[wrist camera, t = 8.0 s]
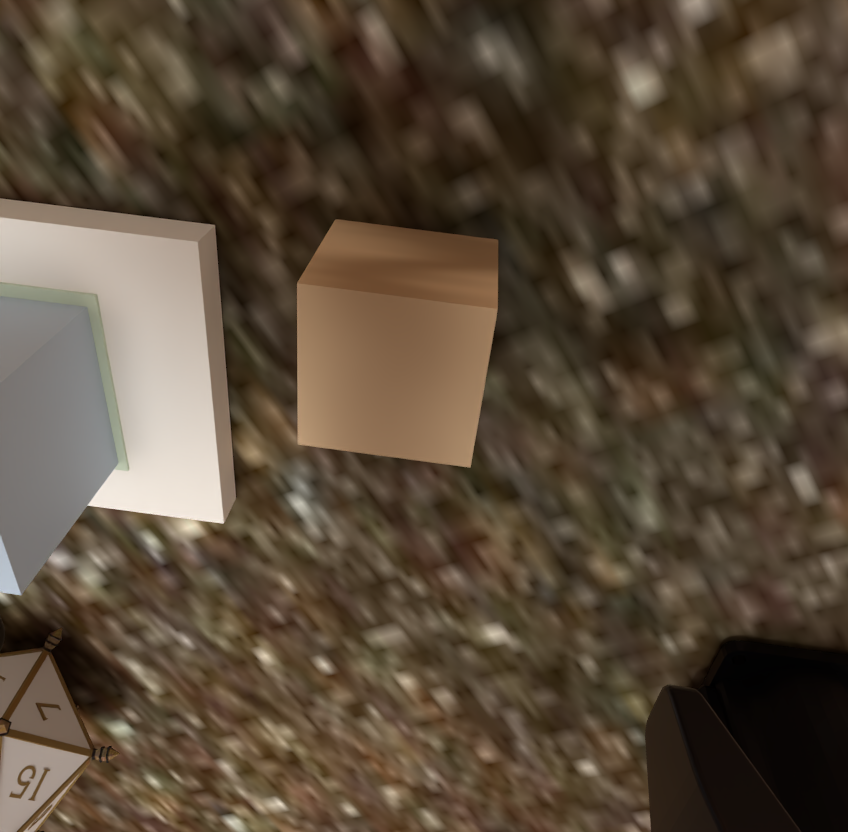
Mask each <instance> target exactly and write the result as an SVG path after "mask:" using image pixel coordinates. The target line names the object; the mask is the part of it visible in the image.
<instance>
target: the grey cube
mask: <svg viewBox="0 0 848 832" xmlns="http://www.w3.org/2000/svg"><path fill="white" fill-rule="evenodd" d="M117 465H118V458H117V453H116V448H115V443H114V438H113V433H112V428H111V423H110V418H109V413H108V408H107V403H106V398H105V393H104V388H103V383H102V378H101V373H100V368H99V363H98V358H97V353H96V348H95V343H94V338H93V333H92V328H91V323H90V318H89V313H88V308H87V307H85V306H76V305H68V304H60V303H52V302H44V301H36V300H28V299H20V298H12V297H4V296H0V592H2V593H9V594H16V595H22V594H23V592H24V591H25V589H26V588H27V587H28V585H29V584H30V583H31V581H32V580H33V579H34V577H35V576H36V575H37V573H38V572H39V570H40V569H41V568H42V566H43V565H44V564H45V562H46V561H47V560H48V558H49V557H50V556H51V554H52V553H53V551H54V550H55V549H56V547H57V546H58V545H59V543H60V542H61V541H62V539H63V538H64V537H65V535H66V534H67V532H68V531H69V530H70V528H71V527H72V526H73V524H74V523H75V522H76V520H77V519H78V518H79V516H80V515H81V513H82V512H83V511H84V509H85V508H86V507H87V505H88V504H89V503H90V501H91V500H92V499H93V497H94V496H95V494H96V493H97V492H98V490H99V489H100V488H101V486H102V485H103V484H104V482H105V481H106V480H107V478H108V477H109V475H110V474H111V473H112V471H113V470H114V469H115V467H116V466H117Z"/></svg>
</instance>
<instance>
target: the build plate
mask: <svg viewBox="0 0 848 832" xmlns="http://www.w3.org/2000/svg"><path fill="white" fill-rule="evenodd" d="M0 296H4V297H12V298H20V299H28V300H36V301H44V302H52V303H60V304H68V305H76V306H85V307H87V308H88V313H89V318H90V323H91V328H92V333H93V338H94V343H95V348H96V353H97V358H98V363H99V368H100V373H101V378H102V383H103V388H104V393H105V398H106V403H107V408H108V413H109V418H110V423H111V428H112V433H113V438H114V443H115V448H116V453H117V458H118V465H117V466H116V467H115V469H114V470H113V471H112V473H111V474H110V475H109V477H108V478H107V480H106V481H105V482H104V484H103V485H102V486H101V488H100V489H99V490H98V492H97V493H96V494H95V496H94V497H93V499H92V500H91V501H90V503H89V504H88V506H96V507H103V508H111V509H118V510H126V511H133V512H141V513H148V514H156V515H163V516H170V517H178V518H185V519H193V520H200V521H208V522H215V523H223V524H224V522H225V520H226V518H227V516H228V514H229V512H230V510H231V508H232V506H233V504H234V501H235V499H236V490H235V477H234V464H233V451H232V438H231V425H230V412H229V399H228V386H227V373H226V360H225V348H224V335H223V322H222V309H221V296H220V283H219V270H218V257H217V244H216V231H215V225H211V224H203V223H195V222H187V221H179V220H171V219H163V218H155V217H147V216H139V215H131V214H123V213H115V212H107V211H99V210H90V209H82V208H74V207H66V206H58V205H50V204H42V203H34V202H26V201H18V200H10V199H2V198H0Z"/></svg>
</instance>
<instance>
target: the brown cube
mask: <svg viewBox="0 0 848 832" xmlns="http://www.w3.org/2000/svg"><path fill="white" fill-rule="evenodd" d="M497 311H498V240H496V239H488V238H480V237H473V236H465V235H457V234H449V233H441V232H433V231H425V230H418V229H410V228H402V227H394V226H386V225H378V224H371V223H363V222H355V221H347V220H339V219H335V221H334V222H333V224H332V226H331V227H330V229H329V231H328V232H327V234H326V236H325V237H324V239H323V241H322V242H321V244H320V246H319V247H318V249H317V251H316V252H315V254H314V256H313V257H312V259H311V261H310V262H309V264H308V266H307V267H306V269H305V271H304V272H303V274H302V276H301V277H300V279H299V281H298V282H297V382H298V445H306V446H313V447H321V448H328V449H336V450H343V451H351V452H358V453H366V454H373V455H381V456H388V457H395V458H403V459H410V460H418V461H425V462H433V463H440V464H448V465H455V466H463V467H471V461H472V455H473V450H474V444H475V438H476V432H477V427H478V421H479V415H480V409H481V403H482V398H483V392H484V386H485V380H486V375H487V369H488V363H489V357H490V351H491V346H492V340H493V334H494V328H495V323H496V317H497Z"/></svg>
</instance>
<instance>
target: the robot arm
mask: <svg viewBox="0 0 848 832" xmlns="http://www.w3.org/2000/svg"><path fill="white" fill-rule="evenodd" d="M4 639H5V628H4V624H3V622H2V619H1V616H0V651H1V649H2V646H3V643H4ZM645 740H646V756H647V772H648V788H649V804H650V820H651V832H848V655H842V654H834V653H827V652H820V651H812V650H805V649H798V648H790V647H783V646H775V645H768V644H761V643H753V642H746V641H732V642H728V643H726V644H725V645H723V647H722V648H721V649H720V651H719V653H718V655H717V657H716V659H715V661H714V663H713V665H712V667H711V668H710V670H709V672H708V674H707V676H706V678H705V680H704V682H703V684H702V686H700V687H699V688H698V689H697V690H696V689H694V688H690V687H682V686H675V685H666V686H665V687H663V689H662V690H661V692H660V694H659V696H658V698H657V700H656V703H655V705H654V707H653V709H652V711H651V713H650V715H649V718H648V720H647V724H646V732H645Z"/></svg>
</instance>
